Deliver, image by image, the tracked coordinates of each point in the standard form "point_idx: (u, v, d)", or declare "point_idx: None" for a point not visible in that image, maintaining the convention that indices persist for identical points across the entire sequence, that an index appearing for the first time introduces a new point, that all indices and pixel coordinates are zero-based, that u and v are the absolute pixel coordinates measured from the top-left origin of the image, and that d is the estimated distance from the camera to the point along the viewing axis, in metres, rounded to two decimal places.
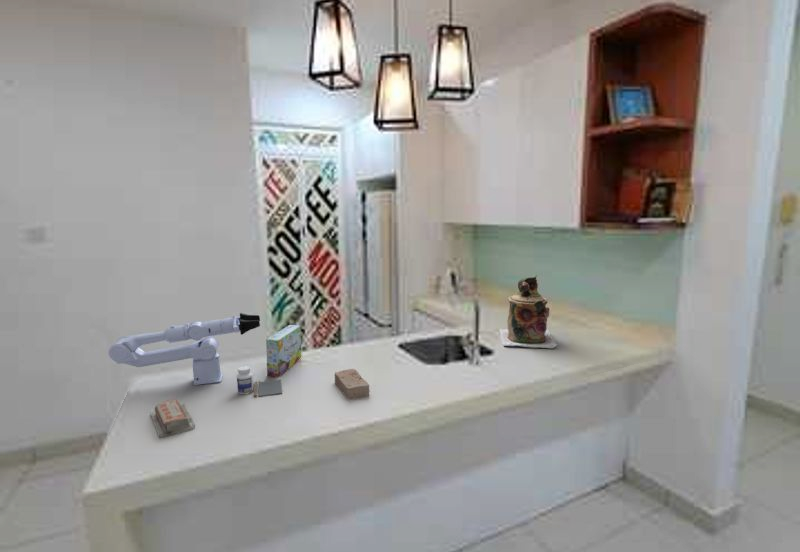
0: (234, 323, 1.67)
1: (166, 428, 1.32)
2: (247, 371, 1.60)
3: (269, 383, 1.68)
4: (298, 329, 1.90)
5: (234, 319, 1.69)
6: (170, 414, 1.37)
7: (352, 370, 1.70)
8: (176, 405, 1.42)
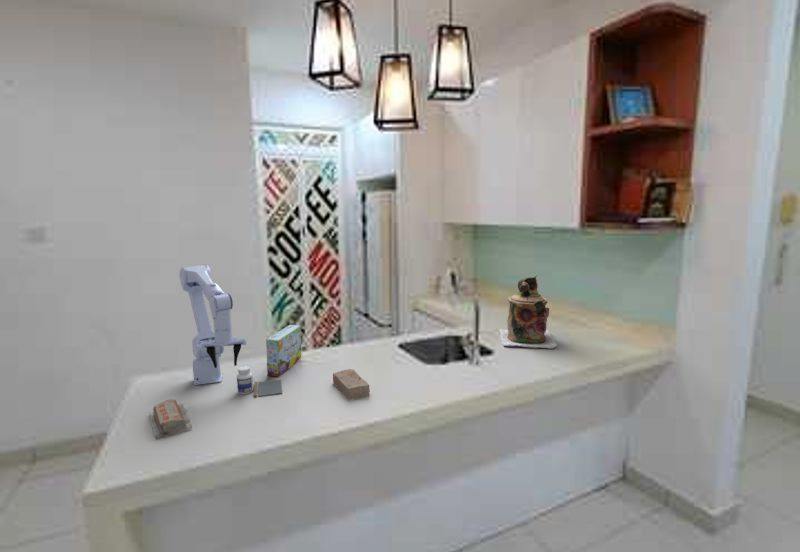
0: (209, 344, 1.54)
1: (162, 429, 1.32)
2: (247, 371, 1.60)
3: (269, 383, 1.68)
4: (298, 329, 1.90)
5: (217, 344, 1.54)
6: (167, 415, 1.36)
7: (350, 370, 1.70)
8: (174, 406, 1.42)
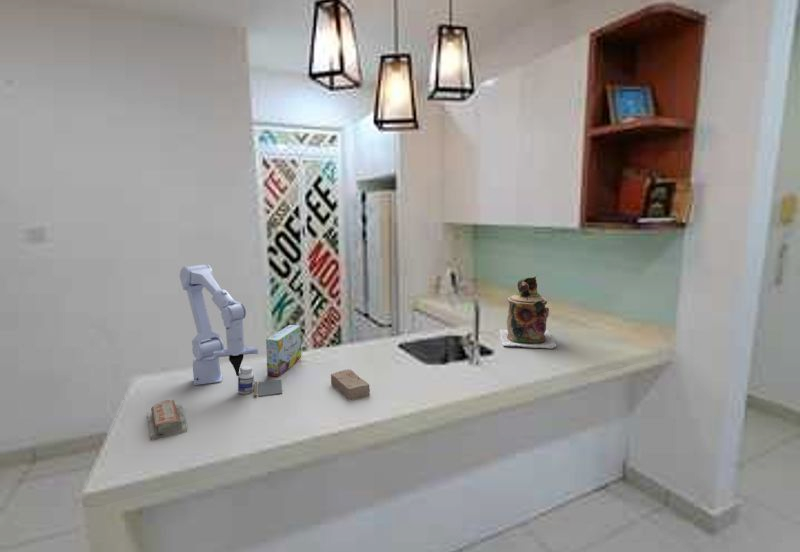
0: (222, 354, 1.56)
1: (157, 430, 1.31)
2: (249, 371, 1.60)
3: (269, 383, 1.68)
4: (298, 329, 1.90)
5: (229, 354, 1.56)
6: (163, 416, 1.36)
7: (348, 371, 1.70)
8: (171, 406, 1.41)
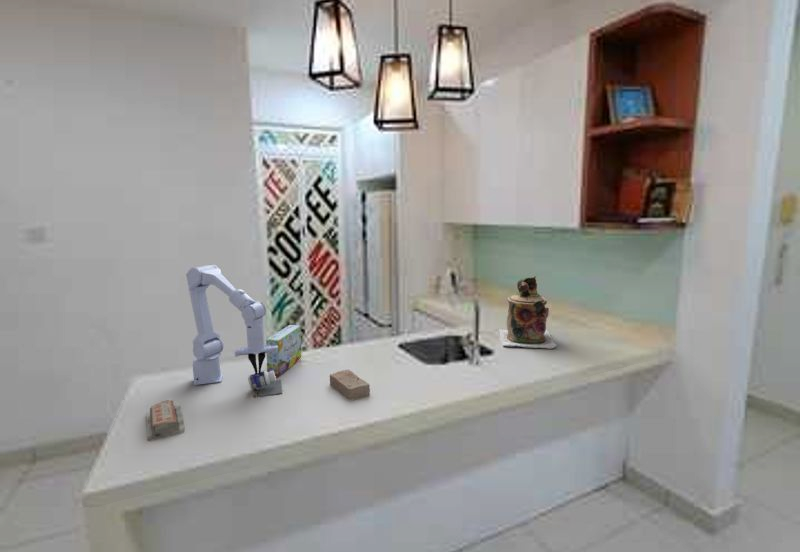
0: (243, 352, 1.58)
1: (154, 430, 1.31)
2: (273, 380, 1.63)
3: None
4: (298, 329, 1.90)
5: (250, 352, 1.58)
6: (161, 416, 1.36)
7: (347, 371, 1.69)
8: (169, 407, 1.41)
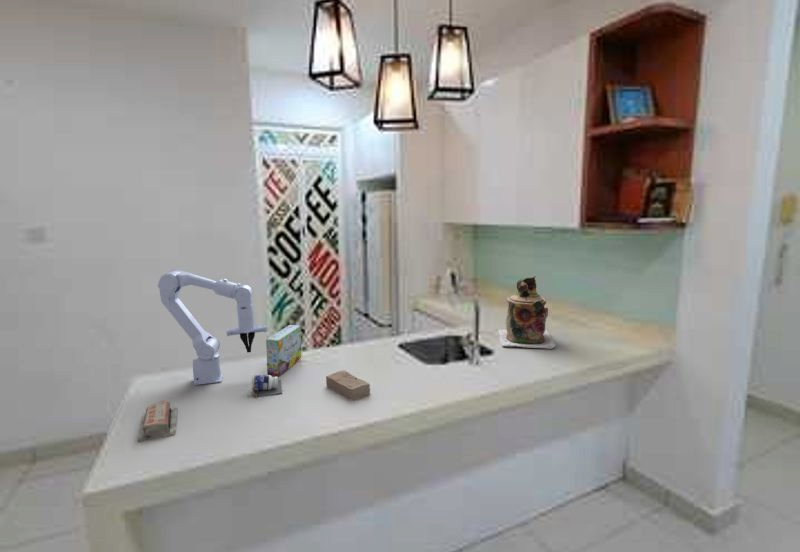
0: (234, 332, 1.69)
1: (145, 432, 1.30)
2: (275, 387, 1.63)
3: None
4: (298, 329, 1.90)
5: (241, 332, 1.68)
6: (153, 417, 1.35)
7: (343, 372, 1.69)
8: (164, 408, 1.40)
